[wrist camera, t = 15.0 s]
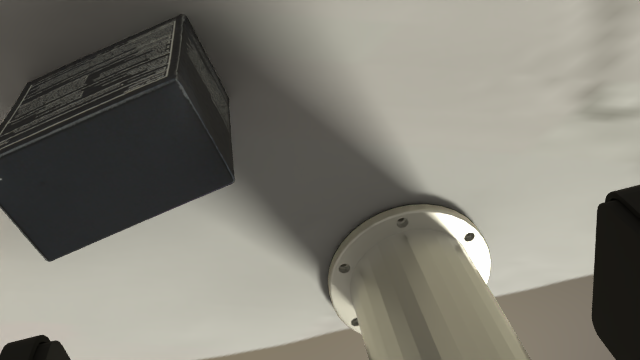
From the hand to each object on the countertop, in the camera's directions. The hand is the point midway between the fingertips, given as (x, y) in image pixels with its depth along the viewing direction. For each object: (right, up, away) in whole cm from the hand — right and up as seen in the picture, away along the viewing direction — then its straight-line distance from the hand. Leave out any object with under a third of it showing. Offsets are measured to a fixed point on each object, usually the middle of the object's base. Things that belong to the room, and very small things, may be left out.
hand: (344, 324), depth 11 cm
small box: (-12, +8, +27) cm, 30 cm away
